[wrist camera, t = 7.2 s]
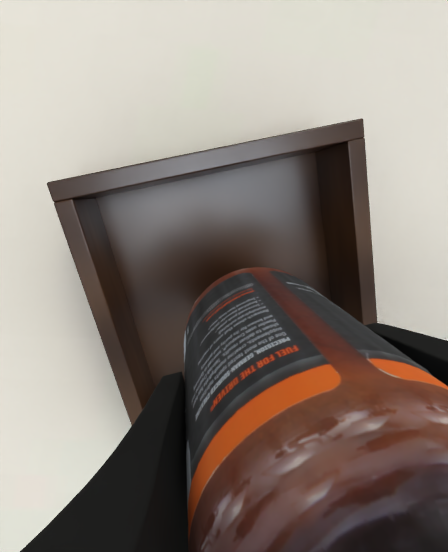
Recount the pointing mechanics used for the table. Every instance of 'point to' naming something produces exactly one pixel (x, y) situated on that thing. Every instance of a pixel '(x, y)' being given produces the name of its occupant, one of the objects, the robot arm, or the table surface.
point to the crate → (215, 238)
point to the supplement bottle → (307, 427)
